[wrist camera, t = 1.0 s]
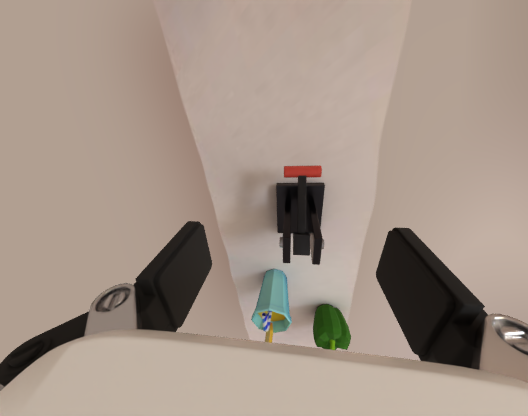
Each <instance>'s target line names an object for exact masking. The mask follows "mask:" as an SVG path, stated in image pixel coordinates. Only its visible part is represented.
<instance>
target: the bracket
mask: <svg viewBox="0 0 528 416" xmlns="http://www.w3.org/2000/svg"><path fill="white" fill-rule="evenodd" d="M324 188H325V185H324V183H306V232H309V234H310V249H311V257H312V264H318V265H319V264H320V258H321V249H324V240H323V239H322V234H321V230H320V226H321V216H322V207H323V198H324ZM276 190H277V226H278V233H283V237H280V247H283V263H290V243H291V233H293V232H297V218H298V183H277V185H276Z"/></svg>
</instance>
